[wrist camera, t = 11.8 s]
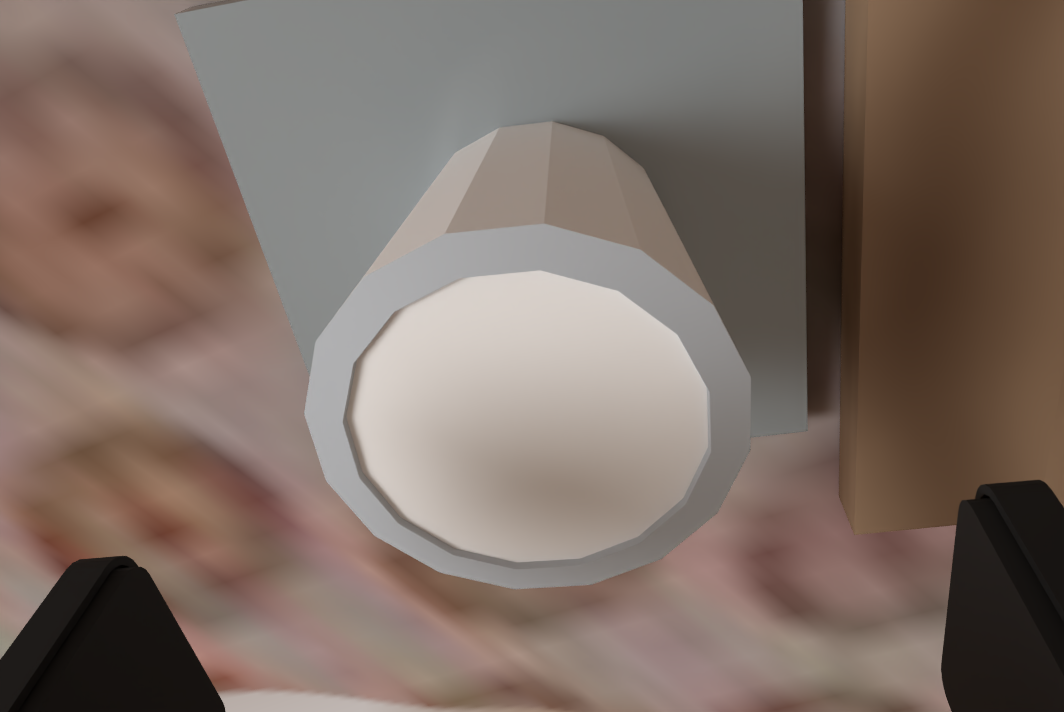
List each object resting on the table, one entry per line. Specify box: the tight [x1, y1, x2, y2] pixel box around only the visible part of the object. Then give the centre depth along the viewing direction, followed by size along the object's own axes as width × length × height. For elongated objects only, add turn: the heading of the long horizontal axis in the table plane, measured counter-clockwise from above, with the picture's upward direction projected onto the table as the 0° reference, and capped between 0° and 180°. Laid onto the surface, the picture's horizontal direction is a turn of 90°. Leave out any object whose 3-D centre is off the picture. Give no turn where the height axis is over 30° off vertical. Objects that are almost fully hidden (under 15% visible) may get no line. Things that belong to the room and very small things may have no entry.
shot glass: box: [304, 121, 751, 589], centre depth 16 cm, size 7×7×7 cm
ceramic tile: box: [174, 0, 808, 438], centre depth 19 cm, size 12×12×1 cm
